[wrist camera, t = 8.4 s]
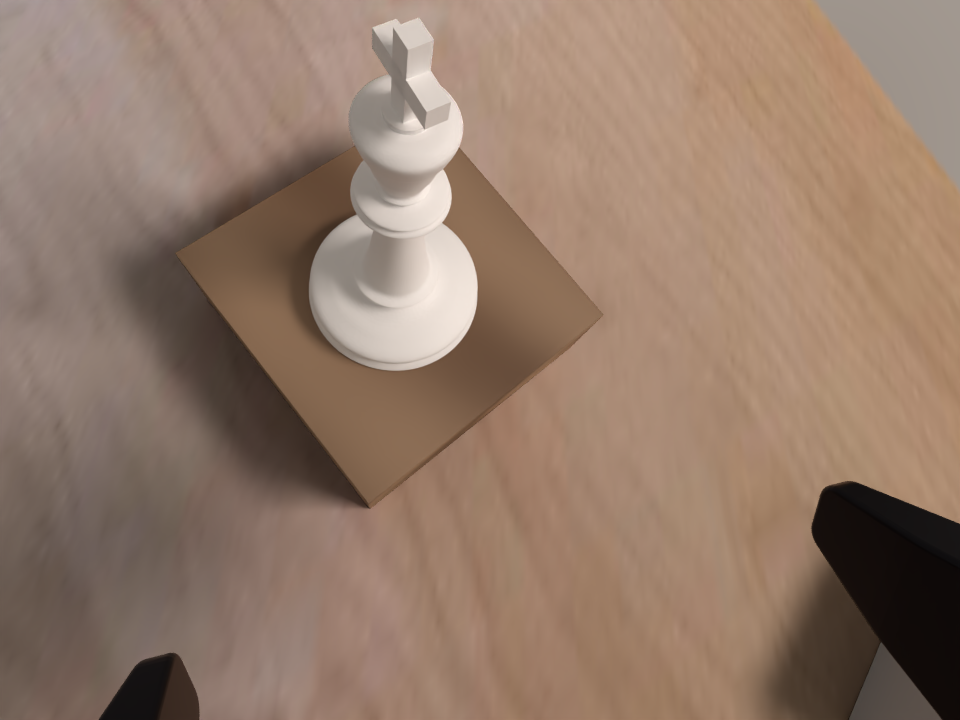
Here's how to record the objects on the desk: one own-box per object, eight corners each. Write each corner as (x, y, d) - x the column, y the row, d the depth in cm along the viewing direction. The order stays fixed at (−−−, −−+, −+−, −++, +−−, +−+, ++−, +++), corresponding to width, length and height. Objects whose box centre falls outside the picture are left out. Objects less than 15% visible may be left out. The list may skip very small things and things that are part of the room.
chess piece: (361, 402, 18) (343, 241, 8) (278, 258, 18) (173, -44, 9) (507, 322, 19) (638, 105, 9) (425, 191, 20) (469, -133, 10)
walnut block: (369, 509, 20) (368, 503, 17) (206, 297, 21) (174, 253, 18) (570, 347, 23) (603, 314, 20) (416, 165, 24) (422, 105, 21)
